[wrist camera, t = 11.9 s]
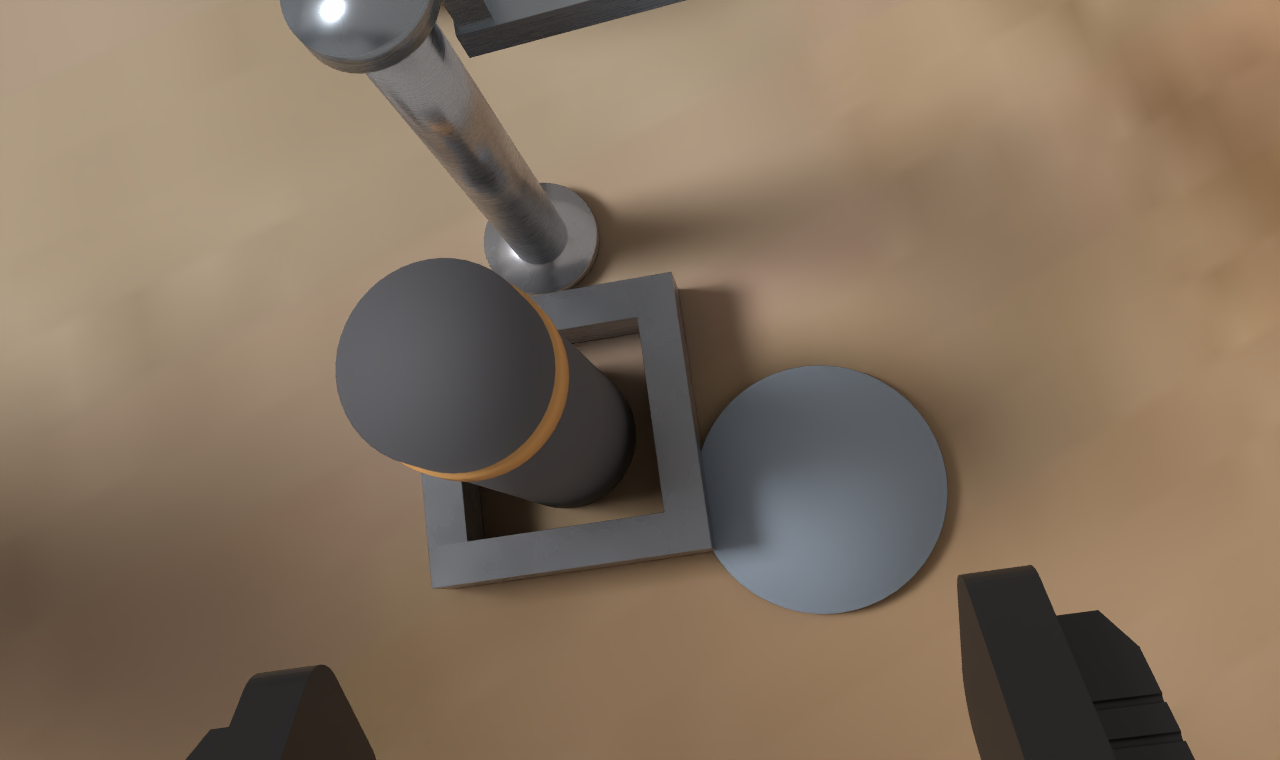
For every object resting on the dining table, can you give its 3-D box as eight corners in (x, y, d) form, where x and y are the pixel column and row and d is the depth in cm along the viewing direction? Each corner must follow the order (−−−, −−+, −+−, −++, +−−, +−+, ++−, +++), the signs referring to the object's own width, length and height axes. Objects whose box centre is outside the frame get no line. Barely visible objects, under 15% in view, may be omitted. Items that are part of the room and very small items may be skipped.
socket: (451, 589, 37) (432, 588, 35) (427, 332, 39) (407, 317, 37) (716, 550, 36) (711, 547, 34) (678, 288, 38) (671, 271, 36)
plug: (466, 452, 38) (288, 384, 25) (554, 336, 38) (422, 213, 26) (578, 541, 37) (450, 517, 24) (668, 421, 37) (588, 335, 25)
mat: (648, 507, 37) (646, 506, 36) (796, 321, 37) (796, 318, 37) (843, 667, 35) (843, 667, 34) (997, 468, 35) (999, 466, 35)
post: (466, 253, 39) (249, 32, 24) (537, 168, 40) (367, -106, 24) (550, 319, 39) (380, 133, 23) (622, 231, 39) (501, -12, 23)
